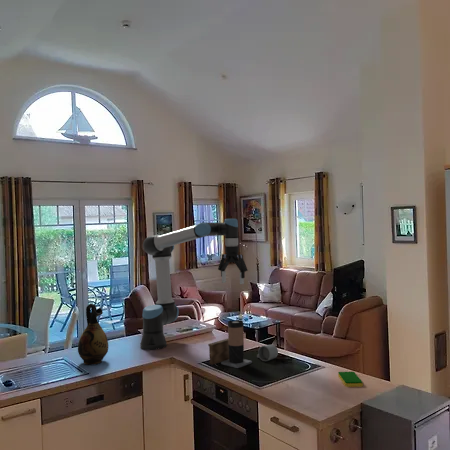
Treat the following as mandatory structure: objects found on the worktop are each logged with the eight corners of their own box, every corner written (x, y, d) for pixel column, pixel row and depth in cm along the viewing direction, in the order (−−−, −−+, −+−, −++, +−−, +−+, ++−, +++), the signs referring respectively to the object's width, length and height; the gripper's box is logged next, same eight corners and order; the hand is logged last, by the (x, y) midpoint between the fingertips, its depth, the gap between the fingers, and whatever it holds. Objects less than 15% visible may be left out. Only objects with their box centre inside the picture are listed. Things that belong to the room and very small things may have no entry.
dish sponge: (354, 376, 202) (353, 371, 202) (362, 387, 188) (362, 381, 188) (338, 377, 202) (338, 371, 202) (345, 387, 188) (345, 382, 188)
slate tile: (221, 364, 225) (220, 362, 225) (235, 359, 233) (235, 357, 233) (237, 368, 217) (237, 366, 217) (251, 362, 225) (251, 360, 225)
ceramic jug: (114, 361, 234) (113, 303, 234) (87, 368, 223) (86, 308, 223) (97, 355, 246) (96, 300, 246) (70, 362, 234) (69, 304, 235)
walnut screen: (212, 365, 224) (212, 344, 224) (208, 364, 225) (208, 344, 225) (237, 356, 237) (236, 337, 237) (233, 355, 239) (233, 336, 239)
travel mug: (239, 364, 220) (238, 323, 220) (226, 362, 224) (225, 322, 224) (246, 360, 226) (245, 320, 227) (233, 358, 231) (232, 319, 231)
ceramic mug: (279, 359, 231) (278, 343, 231) (270, 362, 225) (269, 347, 225) (262, 355, 238) (262, 341, 238) (253, 359, 232) (252, 344, 232)
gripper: (253, 245, 249) (254, 284, 249) (220, 245, 266) (221, 281, 266) (244, 246, 244) (245, 285, 243) (211, 246, 261) (212, 282, 260)
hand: (232, 283), depth 255 cm, fingers open, 13 cm apart
